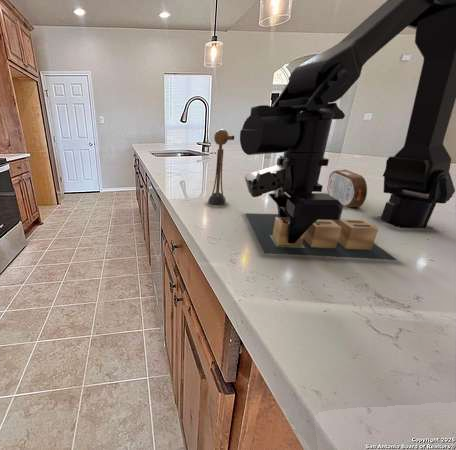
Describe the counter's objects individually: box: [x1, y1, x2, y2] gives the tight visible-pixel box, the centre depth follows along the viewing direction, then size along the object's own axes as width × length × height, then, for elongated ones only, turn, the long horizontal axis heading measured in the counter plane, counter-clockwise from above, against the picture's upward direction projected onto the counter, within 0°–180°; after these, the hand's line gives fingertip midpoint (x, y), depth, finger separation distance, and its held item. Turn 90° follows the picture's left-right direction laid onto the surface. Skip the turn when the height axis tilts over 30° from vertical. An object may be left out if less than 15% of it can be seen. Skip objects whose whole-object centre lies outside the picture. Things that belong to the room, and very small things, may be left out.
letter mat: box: [245, 212, 398, 261], centre depth 49 cm, size 20×20×1 cm
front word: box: [303, 218, 379, 250], centre depth 43 cm, size 10×4×4 cm, turn 80°
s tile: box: [272, 217, 305, 246], centre depth 45 cm, size 4×4×4 cm
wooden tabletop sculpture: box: [207, 128, 235, 206], centre depth 65 cm, size 6×5×20 cm
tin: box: [327, 169, 368, 208], centre depth 65 cm, size 15×3×8 cm, turn 168°
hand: (287, 237), depth 45 cm, fingers closed on s tile, 4 cm apart
